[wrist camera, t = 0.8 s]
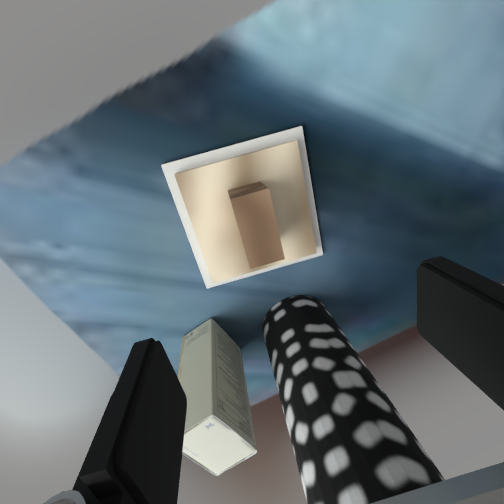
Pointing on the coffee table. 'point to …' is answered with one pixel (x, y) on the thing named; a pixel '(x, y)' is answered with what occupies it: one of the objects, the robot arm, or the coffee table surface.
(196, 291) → the coffee table surface
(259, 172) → the lid
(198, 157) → the mat
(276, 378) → the spotted tube
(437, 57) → the coffee table surface
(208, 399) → the skincare box
